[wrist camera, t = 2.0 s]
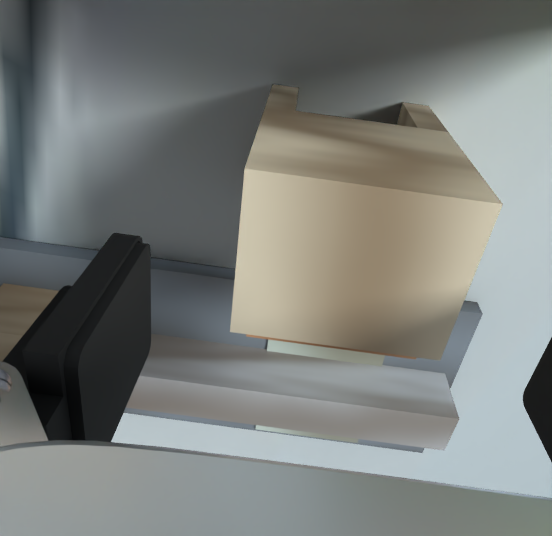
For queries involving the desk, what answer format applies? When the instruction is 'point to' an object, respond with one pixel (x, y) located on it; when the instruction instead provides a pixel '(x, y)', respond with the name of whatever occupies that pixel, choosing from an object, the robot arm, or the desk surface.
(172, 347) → the rail fixture
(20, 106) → the desk surface
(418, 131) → the block
